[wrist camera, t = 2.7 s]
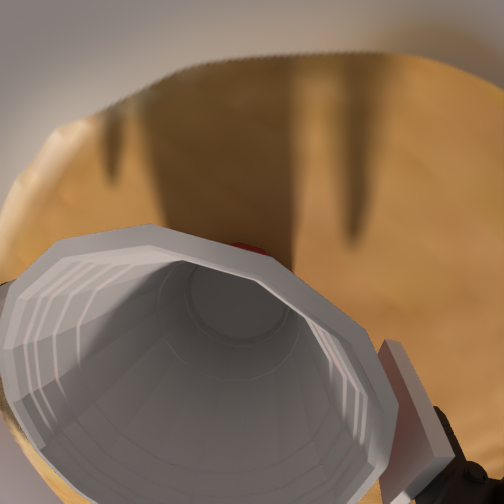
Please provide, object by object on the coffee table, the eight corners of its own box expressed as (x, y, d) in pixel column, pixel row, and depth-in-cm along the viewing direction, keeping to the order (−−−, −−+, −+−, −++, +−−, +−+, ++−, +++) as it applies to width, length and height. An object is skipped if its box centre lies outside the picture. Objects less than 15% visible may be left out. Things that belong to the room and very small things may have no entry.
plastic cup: (378, 303, 16) (467, 474, 5) (236, 398, 19) (188, 560, 8) (249, 147, 16) (137, 82, 4) (118, 276, 18) (-32, 376, 7)
